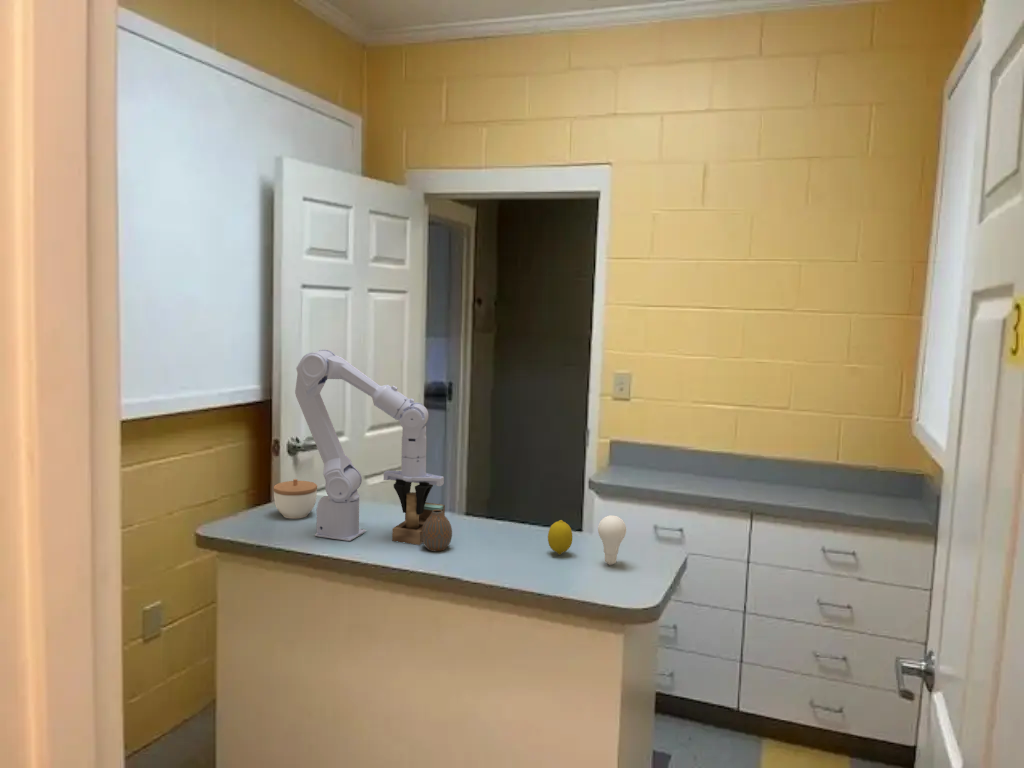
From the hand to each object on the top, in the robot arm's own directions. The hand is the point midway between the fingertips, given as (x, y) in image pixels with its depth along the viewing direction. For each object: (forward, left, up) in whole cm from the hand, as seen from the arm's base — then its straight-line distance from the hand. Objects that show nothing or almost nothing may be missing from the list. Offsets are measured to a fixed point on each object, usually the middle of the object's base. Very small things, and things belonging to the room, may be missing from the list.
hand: (412, 512), depth 182 cm
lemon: (+35, +3, -6) cm, 36 cm away
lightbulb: (+47, +1, -6) cm, 47 cm away
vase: (+8, -4, -6) cm, 11 cm away
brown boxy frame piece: (0, +2, -6) cm, 7 cm away
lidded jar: (-35, +5, -7) cm, 36 cm away
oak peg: (0, 0, -3) cm, 4 cm away
